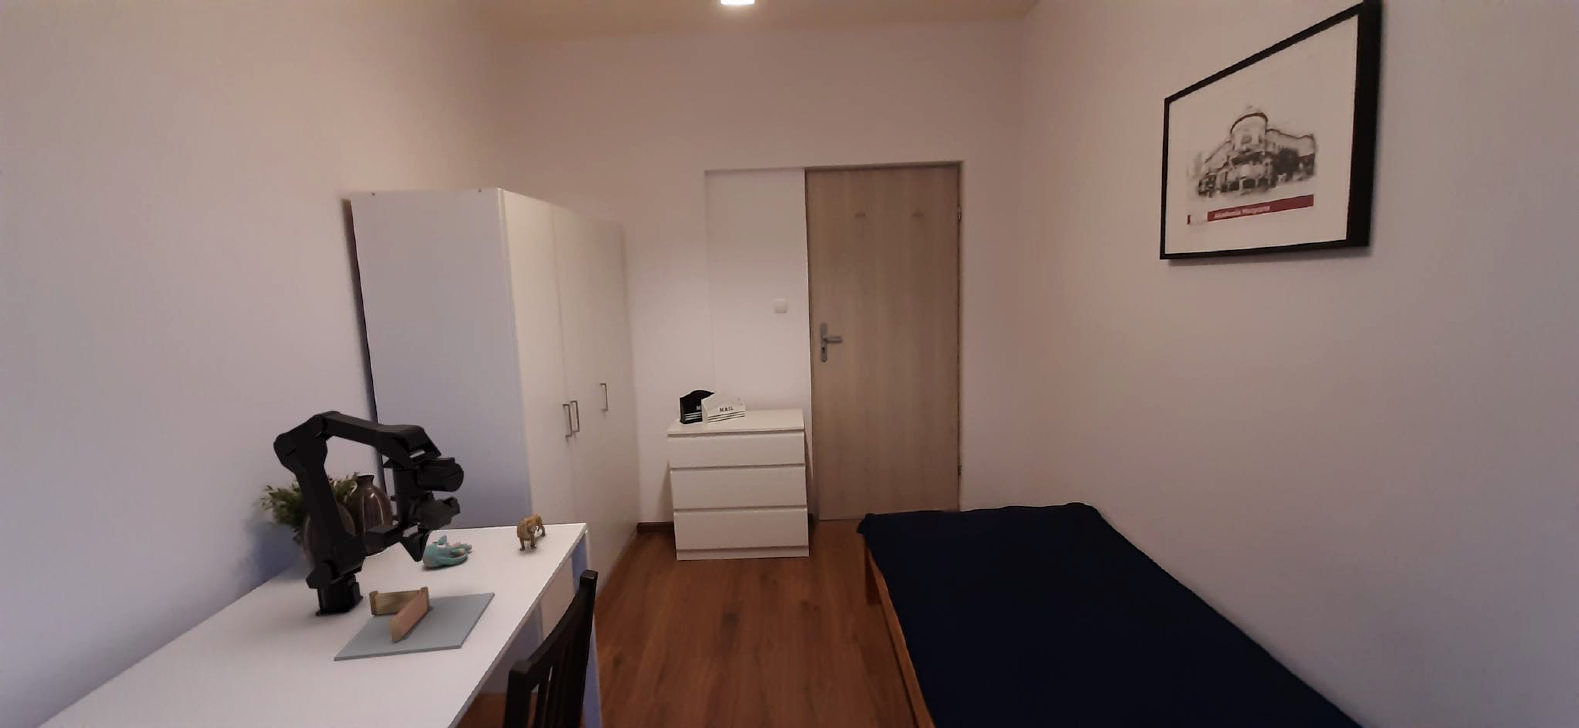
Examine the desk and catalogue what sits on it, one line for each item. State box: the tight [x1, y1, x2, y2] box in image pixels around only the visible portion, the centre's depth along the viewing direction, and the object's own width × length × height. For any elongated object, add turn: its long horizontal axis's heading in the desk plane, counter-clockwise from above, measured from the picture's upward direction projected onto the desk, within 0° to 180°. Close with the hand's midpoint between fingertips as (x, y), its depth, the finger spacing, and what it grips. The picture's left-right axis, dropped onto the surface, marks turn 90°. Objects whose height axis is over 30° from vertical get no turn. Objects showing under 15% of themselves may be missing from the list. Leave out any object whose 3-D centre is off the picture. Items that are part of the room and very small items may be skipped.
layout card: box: [333, 592, 496, 661], centre depth 128 cm, size 22×20×1 cm
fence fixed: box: [368, 589, 421, 616], centre depth 131 cm, size 10×2×4 cm, turn 97°
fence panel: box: [389, 586, 430, 642], centre depth 127 cm, size 13×2×4 cm, turn 4°
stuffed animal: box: [422, 535, 473, 568], centre depth 157 cm, size 11×7×12 cm
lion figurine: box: [516, 513, 547, 552], centre depth 165 cm, size 15×5×9 cm, turn 13°
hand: (418, 561), depth 131 cm, fingers closed
